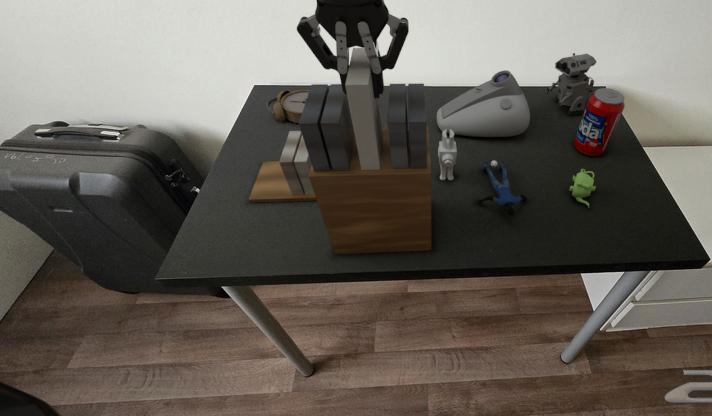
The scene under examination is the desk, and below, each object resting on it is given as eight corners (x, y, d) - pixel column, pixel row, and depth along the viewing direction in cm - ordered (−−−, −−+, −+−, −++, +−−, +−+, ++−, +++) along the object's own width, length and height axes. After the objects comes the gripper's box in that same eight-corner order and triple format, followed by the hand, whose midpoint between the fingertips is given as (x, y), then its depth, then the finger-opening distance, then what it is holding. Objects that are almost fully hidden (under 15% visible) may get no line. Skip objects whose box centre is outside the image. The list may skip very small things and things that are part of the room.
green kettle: (588, 208, 79) (597, 189, 74) (564, 200, 80) (571, 181, 76) (593, 190, 83) (602, 171, 78) (569, 183, 84) (576, 164, 80)
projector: (472, 92, 109) (477, 43, 98) (542, 120, 100) (555, 70, 89) (426, 127, 96) (425, 75, 85) (501, 162, 88) (511, 109, 77)
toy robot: (453, 164, 87) (456, 121, 78) (455, 186, 82) (458, 144, 73) (437, 164, 87) (438, 121, 78) (438, 187, 81) (439, 144, 73)
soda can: (610, 154, 91) (635, 101, 80) (585, 161, 89) (606, 107, 78) (591, 136, 96) (612, 83, 85) (566, 142, 94) (584, 89, 83)
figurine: (537, 101, 107) (549, 50, 96) (573, 97, 109) (589, 47, 98) (550, 119, 101) (565, 67, 90) (588, 114, 103) (606, 63, 92)
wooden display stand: (318, 200, 77) (306, 164, 70) (249, 202, 76) (230, 166, 69) (326, 163, 85) (316, 127, 78) (264, 164, 84) (248, 128, 77)
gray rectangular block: (380, 169, 55) (368, 84, 45) (361, 170, 55) (345, 84, 45) (383, 130, 62) (373, 47, 51) (366, 130, 62) (352, 47, 51)
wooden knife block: (431, 250, 70) (431, 125, 49) (335, 254, 68) (291, 128, 47) (428, 204, 78) (427, 79, 57) (342, 207, 76) (308, 80, 55)
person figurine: (469, 176, 87) (483, 227, 73) (470, 159, 84) (484, 210, 70) (514, 173, 88) (536, 224, 74) (517, 157, 85) (540, 206, 71)
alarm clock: (323, 114, 93) (260, 106, 90) (324, 130, 97) (263, 123, 94) (329, 91, 101) (270, 83, 98) (329, 106, 104) (272, 99, 101)
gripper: (264, -44, 35) (308, 111, 48) (409, -41, 37) (415, 109, 49) (281, -63, 40) (317, 82, 53) (409, -60, 42) (414, 81, 54)
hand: (364, 94), depth 51 cm, fingers closed on gray rectangular block, 3 cm apart
